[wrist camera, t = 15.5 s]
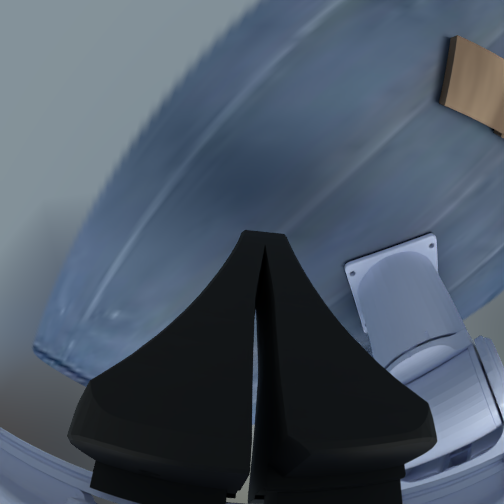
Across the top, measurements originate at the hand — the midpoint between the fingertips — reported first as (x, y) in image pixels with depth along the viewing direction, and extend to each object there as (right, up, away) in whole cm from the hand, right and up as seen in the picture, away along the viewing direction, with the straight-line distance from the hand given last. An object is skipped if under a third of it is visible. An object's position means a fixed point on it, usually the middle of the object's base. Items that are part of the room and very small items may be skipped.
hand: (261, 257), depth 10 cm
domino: (+12, +11, +3) cm, 17 cm away
